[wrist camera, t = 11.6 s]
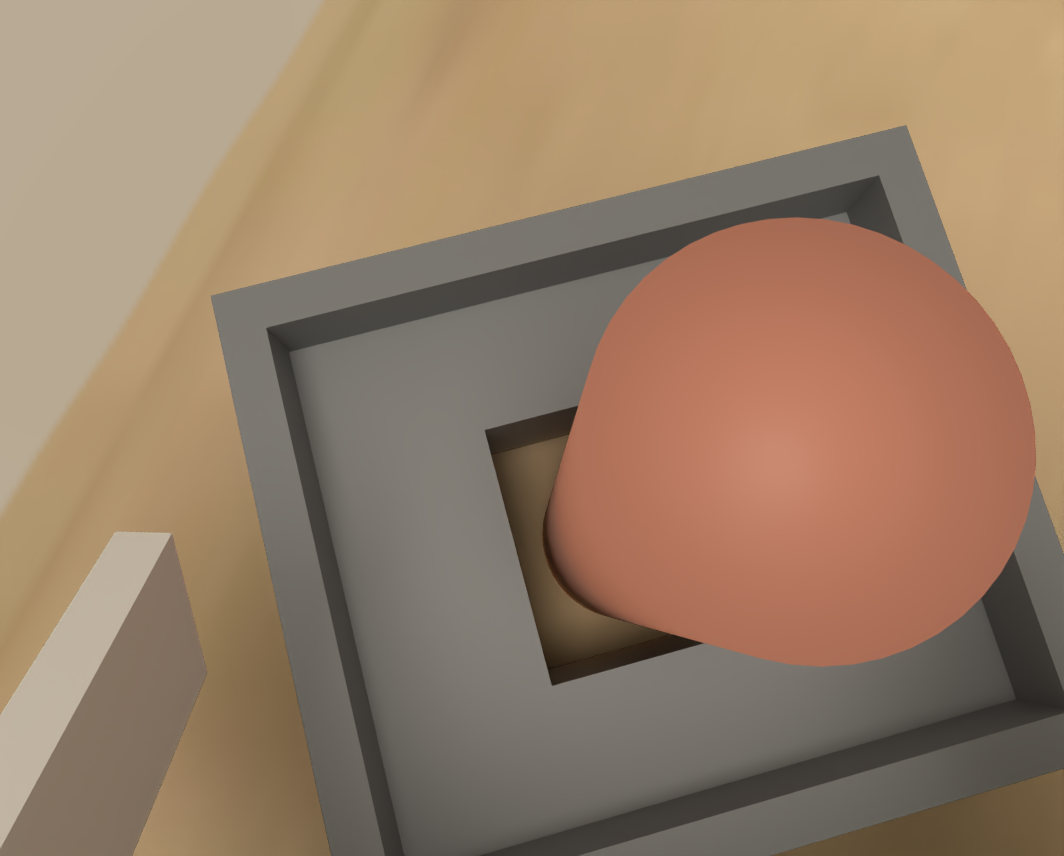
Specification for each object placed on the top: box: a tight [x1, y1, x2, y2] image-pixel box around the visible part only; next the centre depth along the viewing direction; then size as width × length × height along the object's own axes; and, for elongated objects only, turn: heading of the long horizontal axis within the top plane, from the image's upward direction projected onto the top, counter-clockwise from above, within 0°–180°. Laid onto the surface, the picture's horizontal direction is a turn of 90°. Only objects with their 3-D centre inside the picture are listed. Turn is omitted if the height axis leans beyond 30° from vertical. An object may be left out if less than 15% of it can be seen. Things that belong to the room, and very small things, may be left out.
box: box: [211, 125, 1064, 856], centre depth 22 cm, size 16×14×6 cm
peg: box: [542, 217, 1036, 667], centre depth 17 cm, size 4×4×16 cm
